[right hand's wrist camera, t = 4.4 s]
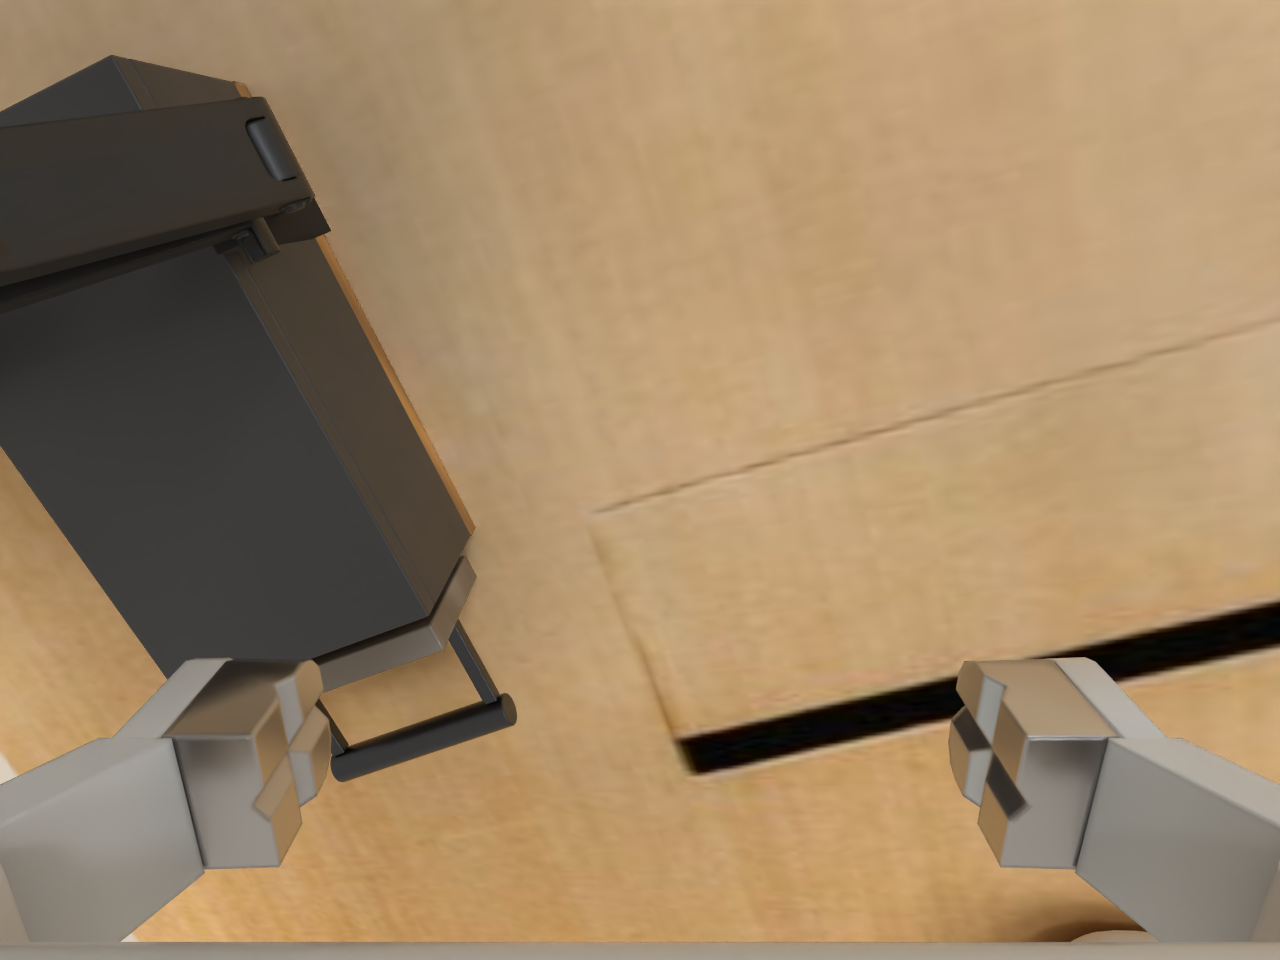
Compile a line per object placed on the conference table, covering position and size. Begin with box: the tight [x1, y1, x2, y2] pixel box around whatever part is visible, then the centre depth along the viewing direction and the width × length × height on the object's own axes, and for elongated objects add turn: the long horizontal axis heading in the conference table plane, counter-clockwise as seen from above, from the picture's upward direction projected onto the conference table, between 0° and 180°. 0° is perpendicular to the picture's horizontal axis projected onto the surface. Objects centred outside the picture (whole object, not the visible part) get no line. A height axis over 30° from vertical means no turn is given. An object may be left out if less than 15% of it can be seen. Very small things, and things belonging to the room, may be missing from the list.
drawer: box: [309, 555, 517, 782], centre depth 32 cm, size 24×9×6 cm, turn 22°
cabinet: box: [0, 55, 475, 680], centre depth 30 cm, size 19×10×8 cm, turn 22°
